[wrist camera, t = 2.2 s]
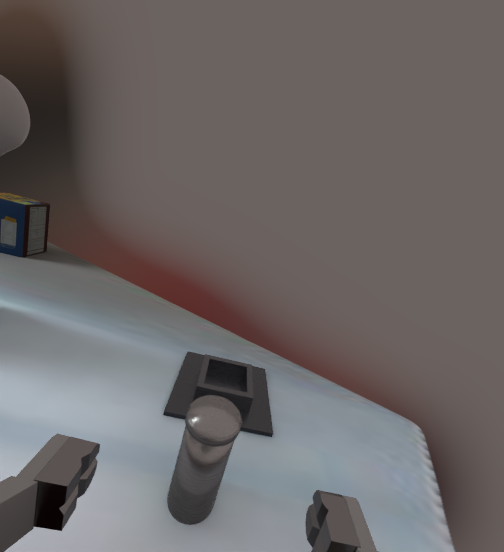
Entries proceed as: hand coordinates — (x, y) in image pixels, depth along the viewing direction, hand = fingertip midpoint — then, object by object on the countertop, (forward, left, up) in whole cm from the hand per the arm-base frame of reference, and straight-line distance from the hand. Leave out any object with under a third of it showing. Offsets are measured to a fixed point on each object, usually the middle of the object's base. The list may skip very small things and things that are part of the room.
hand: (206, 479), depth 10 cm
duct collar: (+3, +32, -21) cm, 38 cm away
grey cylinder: (+1, +14, -21) cm, 25 cm away
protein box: (-67, +74, -21) cm, 102 cm away
